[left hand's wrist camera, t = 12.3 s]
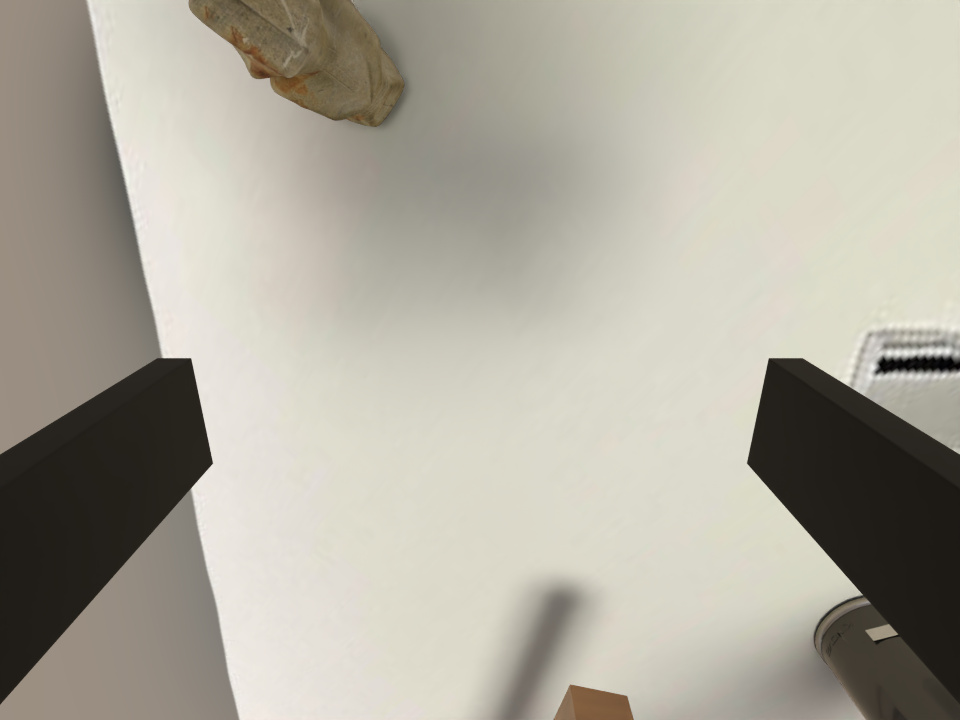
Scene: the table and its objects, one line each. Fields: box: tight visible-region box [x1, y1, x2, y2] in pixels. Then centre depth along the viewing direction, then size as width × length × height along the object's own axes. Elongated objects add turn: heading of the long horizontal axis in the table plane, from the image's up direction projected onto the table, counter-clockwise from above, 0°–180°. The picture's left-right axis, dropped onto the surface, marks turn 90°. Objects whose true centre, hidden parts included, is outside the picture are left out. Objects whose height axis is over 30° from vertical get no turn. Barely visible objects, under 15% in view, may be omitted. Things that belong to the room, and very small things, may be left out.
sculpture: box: [189, 0, 404, 127], centre depth 28 cm, size 6×7×15 cm
